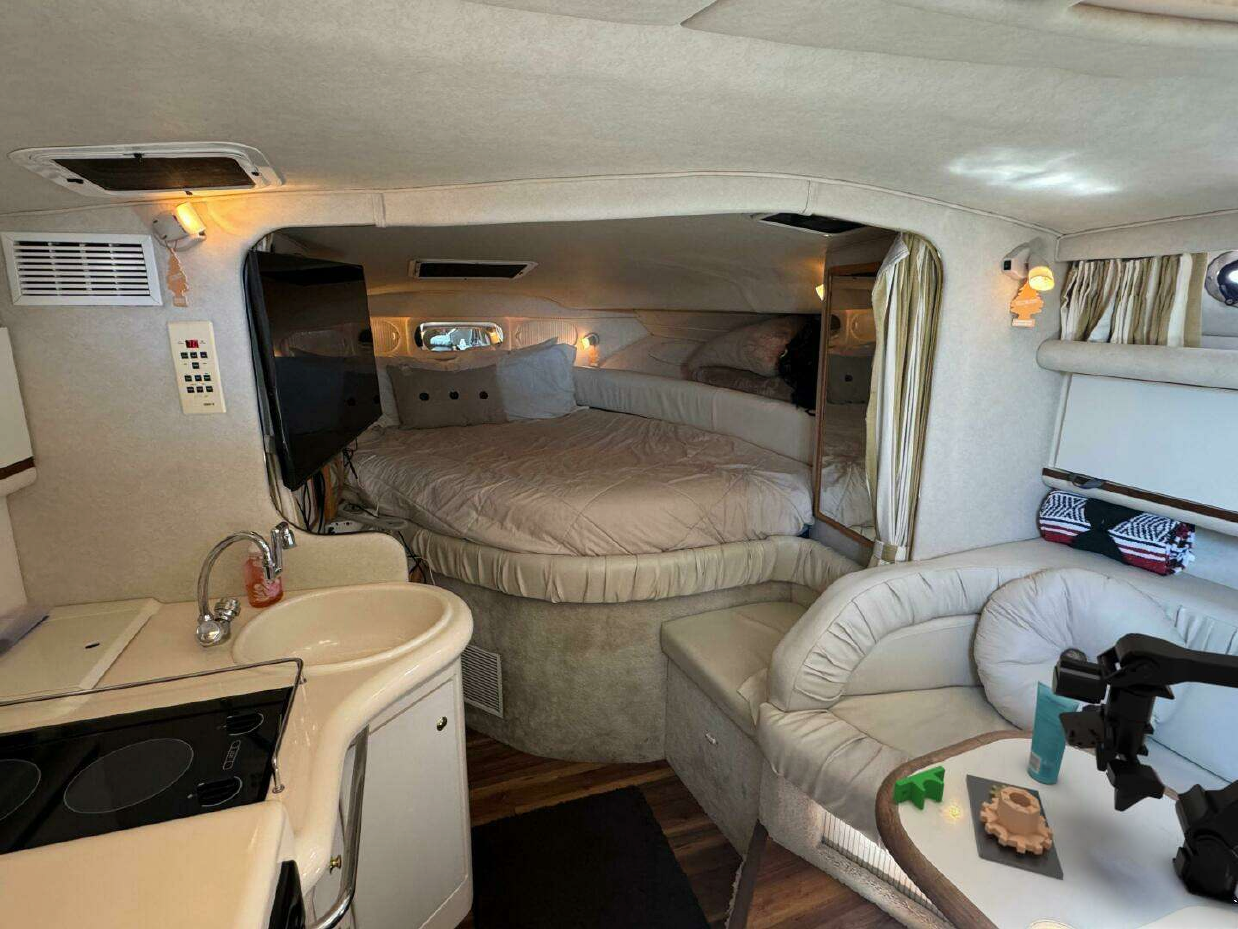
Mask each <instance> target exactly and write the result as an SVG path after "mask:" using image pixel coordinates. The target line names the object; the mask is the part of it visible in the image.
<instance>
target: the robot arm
mask: <svg viewBox="0 0 1238 929" xmlns="http://www.w3.org/2000/svg"><path fill="white" fill-rule="evenodd" d="M1096 662H1097V663H1094V662H1092V661H1091V662H1090V661H1086V660H1082V659H1077V658H1074V657H1072V656H1068V655H1065V654H1060V655H1059V659H1058V660H1057V662H1056V664H1055V665H1054V666H1053V673H1052V680H1051V681H1052V683H1051V688H1052V692H1053V694H1054V695H1057V696H1061V697H1066V698H1070V699H1074V700H1076V701H1078V702H1083V703H1087V705H1084V706H1082V708H1081V710H1079V711H1078V710H1077V711H1076V712H1063V713H1060V714H1059V720H1060V723H1061V727H1062V730H1063V733H1064V736H1065V738H1066V741H1067V743H1066V744H1067V745H1069V746H1071V747H1077V748H1078V749H1081V750H1083V749H1085V750H1087V749H1094V754H1095V763H1096V769H1097V770H1098V772H1104V773H1105V775H1106V777H1107V779H1108V782H1109V784H1110V786H1111V787H1113V789H1114V790H1113V791H1114V793H1113V801H1114V804H1113V806H1114V810H1115V811H1117V812H1125V811H1126V810H1128V809H1130V808H1131V807H1133V806H1134V805H1136V804H1138V803H1139V802H1141V801H1142V800H1144V799H1147V798H1152V799H1156V800H1161V799H1163V797H1164V794H1165V790H1166V786H1165V784H1164V783H1163V781H1162V780H1161V777H1160V776H1159V774H1158V772H1157V771H1156V770H1155V769H1154V768H1153V767H1152V765H1148V764H1143V763H1141V761H1140V759H1139V758H1138V756H1143V757H1149V753H1150V751H1149V749H1148V747H1147V745H1146V744H1145V743H1146V740H1147V735H1151V736H1153V735H1154V732H1155V728H1154V726H1153V725H1152V723H1151V719H1152V715H1153V712H1154V707H1155V703H1156V700H1157V698H1161V699H1167V700H1171V701H1174V700H1175V698H1176V697H1175V695H1174V693H1173V692H1174V691H1172V688H1171V686H1173V685H1179V684H1183V683H1199V684H1205V685H1213V686H1217V687H1223V688H1224V687H1225V688H1232V689H1238V655H1233V654H1226V653H1218V652H1210V651H1203V650H1196V649H1190V648H1186V647H1183V646H1181V645H1178V644H1176V643H1174V642H1171V641H1169V640H1167V639H1164V638H1160V637H1157V636H1152V635H1149V634H1144V633H1139V632H1130V633H1126V634H1125V635H1124V636H1121V637H1119V639H1118V640H1117V641H1116V642H1115V645H1113V646H1112V647H1110V648H1108V649H1107V650H1105V651H1103V652H1101V653H1100V654H1097V655H1096ZM1117 664H1118V665H1119V669H1118V668H1117ZM1108 686H1109V687H1108ZM1107 690H1108V693H1107ZM1106 694H1107V695H1106ZM1106 696H1107V698H1106ZM1105 699H1106V701H1105V703H1104V702H1103V703H1101V702H1102V701H1104V700H1105ZM1117 757H1118V758H1117ZM1176 796H1177V798H1178V799H1177V800H1176V802H1175V803H1174V806H1175V808H1174V809H1175V814H1176V817H1177V819H1178V823H1179V825H1180V828H1181V832H1182V834H1183V837H1184V840H1183V844H1182V846H1179V847H1177V852H1176V855H1175V857H1172V859H1171V861H1172V863H1173V867H1174V869H1175V871H1176V874H1177V875H1178V877H1179V878H1180V880H1181V881H1182V884H1183V885H1184V887H1185V889H1186V891H1187V892H1188V893H1190V894H1193V895H1196V896H1199V897H1200V896H1201V897H1205V898H1208V899H1211V900H1215V901H1219V902H1222V903H1226V904H1230V903H1232V904H1231V905H1234V904H1238V897H1237V894H1236V891H1237V888H1238V779H1236V780H1234V781H1232V782H1231V783H1229V784H1228V785H1226V786H1225V787H1223V788H1221V789H1205V788H1204V787H1203V785H1201V784H1199V783H1196V784H1195V783H1194V784H1193V785H1192V786H1191V787H1190V789H1188V790H1187V791H1185V792H1182V793H1177V795H1176ZM1234 900H1236V901H1237V902H1235V901H1234Z"/></svg>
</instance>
